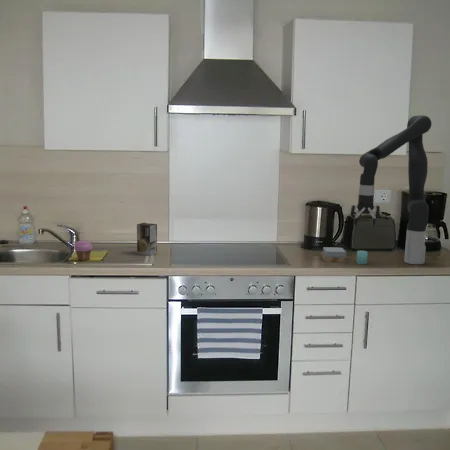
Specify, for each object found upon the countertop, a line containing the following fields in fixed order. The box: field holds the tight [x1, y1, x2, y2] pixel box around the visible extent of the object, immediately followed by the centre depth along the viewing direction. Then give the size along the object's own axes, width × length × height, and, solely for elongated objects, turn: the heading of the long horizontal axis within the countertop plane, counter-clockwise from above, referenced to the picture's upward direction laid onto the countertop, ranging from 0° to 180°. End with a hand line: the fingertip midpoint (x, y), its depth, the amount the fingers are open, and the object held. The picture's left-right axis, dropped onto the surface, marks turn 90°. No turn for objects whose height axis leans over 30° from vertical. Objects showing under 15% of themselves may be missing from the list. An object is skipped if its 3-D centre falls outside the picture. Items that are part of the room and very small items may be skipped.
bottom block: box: [319, 251, 349, 263], centre depth 286 cm, size 12×12×3 cm
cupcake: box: [73, 240, 94, 262], centre depth 273 cm, size 9×9×10 cm
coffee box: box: [136, 222, 158, 256], centre depth 289 cm, size 9×6×16 cm
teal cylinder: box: [355, 250, 369, 265], centre depth 279 cm, size 5×5×6 cm
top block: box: [322, 246, 347, 258], centre depth 285 cm, size 10×10×3 cm
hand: (364, 225), depth 276 cm, fingers open, 8 cm apart
